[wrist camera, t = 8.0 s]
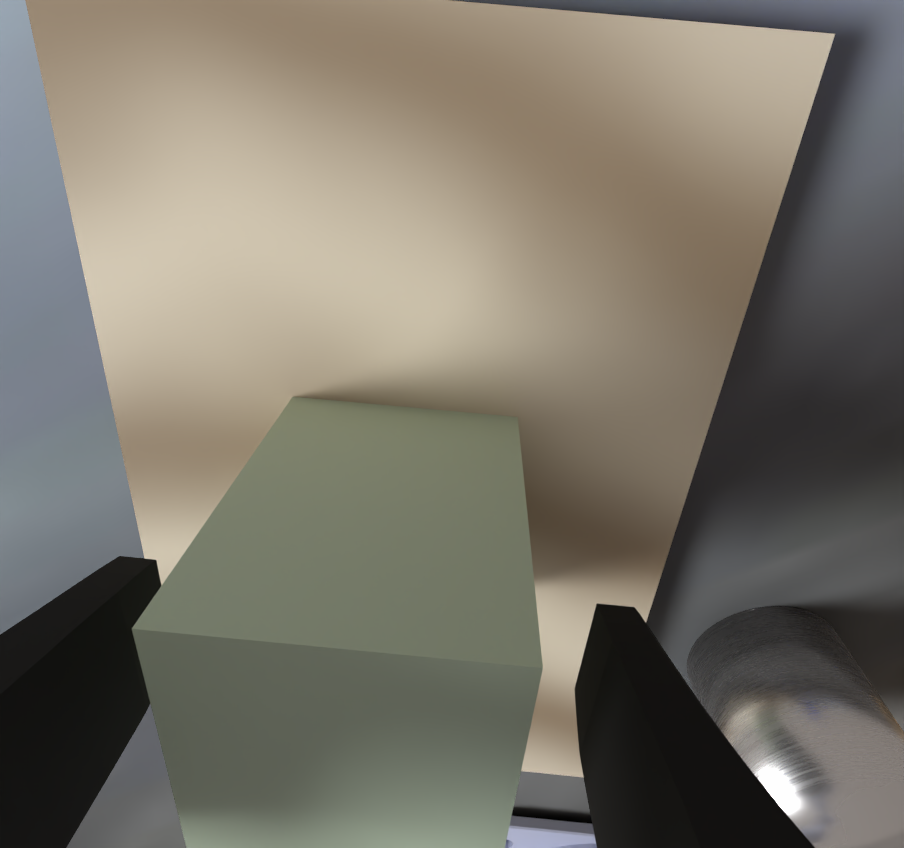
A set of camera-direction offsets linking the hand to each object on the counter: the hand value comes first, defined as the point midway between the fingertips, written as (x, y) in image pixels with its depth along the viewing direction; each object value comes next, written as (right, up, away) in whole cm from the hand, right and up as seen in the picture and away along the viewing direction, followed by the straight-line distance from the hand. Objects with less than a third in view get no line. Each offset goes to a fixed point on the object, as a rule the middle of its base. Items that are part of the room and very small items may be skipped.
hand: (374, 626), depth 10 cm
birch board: (0, +2, +4) cm, 5 cm away
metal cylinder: (+10, -3, +6) cm, 12 cm away
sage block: (0, +2, +3) cm, 3 cm away
